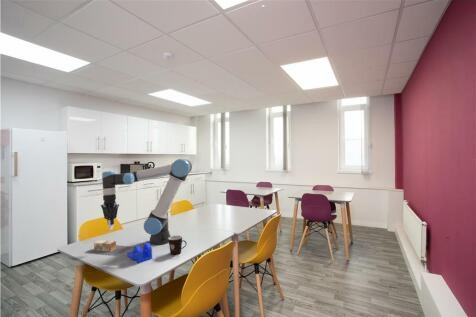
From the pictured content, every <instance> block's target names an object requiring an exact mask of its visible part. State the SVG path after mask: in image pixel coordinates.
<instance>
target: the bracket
mask: <svg viewBox="0 0 476 317" xmlns="http://www.w3.org/2000/svg"><path fill="white" fill-rule="evenodd" d="M132 248H133V249H132V250H130V251H128V252H127V253H126V254H127V258H129V259H130V260H132V261H134V262H136V263H138V264H142V263H144V262H147V261H150V260H152V259H153V248H152V244H150V242H146V243H144V244H143V245H142V248H141V246H140V245H137V246H133V247H132Z"/></svg>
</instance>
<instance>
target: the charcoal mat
mask: <svg viewBox="0 0 476 317" xmlns="http://www.w3.org/2000/svg"><path fill="white" fill-rule="evenodd" d="M132 248H133V245H132V246H131V245H120V244H119V245H117V244H116V249H114V250H112V251H98V250H94V249H91V250H89V251H87V252H86V254H88V255H89V254H91V255H100V256H114V257H117V256H119V255H121V254H123V253H125V252H126V251H128V250H131V249H132Z"/></svg>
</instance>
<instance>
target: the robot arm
mask: <svg viewBox="0 0 476 317" xmlns="http://www.w3.org/2000/svg"><path fill="white" fill-rule="evenodd" d="M192 166H193V165H192V163H191V161H190V160H189V159H187V158H186V159H185V158H178V159H176V160H174V161H173V162H171V164H167V165H162V166H161V165H160V166H156V167H152V168H146V169H143V170H136V171H132V172H125V173H116V171H114V170H110V171H109V170H107V171H103V172H102V173H101V176H102V177H101V179H102V180H101V181H102V182H101V183H102V195H103V196H102V199H103V204H100V208H101V209H102V213H103V218H104V220H106V221H107V225H108V230H109V231H112V230H114V224H115V221H114V220H115V219H116V218H117V217H118V216H117V215H118V212H119V210H118V209H119V207H120V204H117V201H116V199H117V196H116V195H117V194H116V193H117V192H116V186H124V185H127V186H128V185H133V184H134V183H137V182H142V181H147V180H153V179H158V178H162V177H168V176H169V179H168V181H167V183H166V184H165V186H164V189H163V191H162V193H161V195H160V197H159V200H158V201H157V203H156V206H155V208H154V209H152V210H150V213H149V215H148V217H147V218H146V219H145V220H144V222H143V230H144V232H145V233H147V234H148V235H150V237H149V243H150V245H155V246H160V245H165V244H169V240H168V238H169V237H171V236H172V235H171V234H170V230H169V210H170V207H171V206H172V204H173V202H174V199H175V197H176V195H177V193H178V192H179V188H180V187H181V185H182V183H184V182H185V181H186V179H187V177H188V175H189V174H190V173H191V171H192V169H193V167H192Z"/></svg>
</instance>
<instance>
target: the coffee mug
mask: <svg viewBox="0 0 476 317" xmlns="http://www.w3.org/2000/svg"><path fill="white" fill-rule="evenodd" d="M170 236H171V237H169V238H168V240H169V242H168V245H169V246H168V247H169V252H170V255H171V256H178V255H181V254H182V250H183V249H184V248H185V247H187V244H188V243H187V240H184V239H183V236H182V235H170ZM183 242H184V243H185V245H184V246H183ZM182 246H183V247H182Z"/></svg>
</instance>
